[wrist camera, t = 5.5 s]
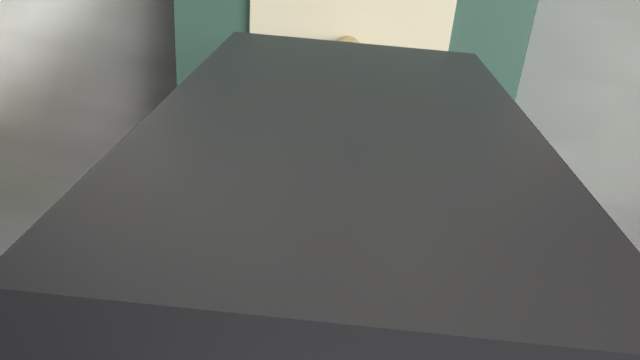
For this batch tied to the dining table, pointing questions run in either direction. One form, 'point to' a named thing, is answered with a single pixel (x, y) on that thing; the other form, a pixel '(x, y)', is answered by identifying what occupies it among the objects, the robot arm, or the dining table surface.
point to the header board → (365, 27)
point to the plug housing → (326, 224)
